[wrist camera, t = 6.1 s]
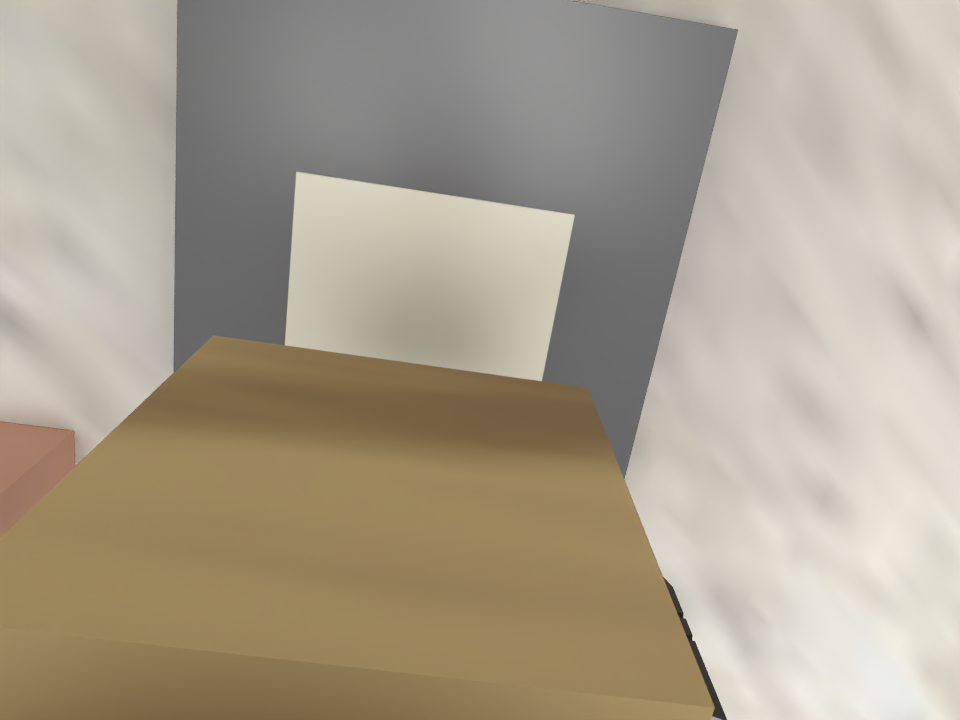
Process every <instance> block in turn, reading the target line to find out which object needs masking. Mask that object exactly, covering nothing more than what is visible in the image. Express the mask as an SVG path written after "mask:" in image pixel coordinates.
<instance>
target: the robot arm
mask: <svg viewBox="0 0 960 720" xmlns="http://www.w3.org/2000/svg"><path fill="white" fill-rule="evenodd" d="M663 578H664V577H663ZM664 581H665V584H666V586H667V589H668V591H669V594H670V596H671V599H672V601H673V604H674V606H675V609H676V611H677V614H678V616H679V619H680V621H681V624H682V626H683V629H684V631H685V634H686V636H687V639H688V641H689V644H690V646H691V649H692V651H693V654H694V657H695V659H696V662H697V664H698V667H699V669H700V672H701V674H702V677H703V679H704V682H705V684H706V687H707V689H708V692H709V694H710V697H711V699H712V702H713V704H714V707H715V709H714V712H713V715H712V717H711V720H727V719H726V716H725V714H724V711H723V709H722V706H721V704H720V702H719V699H718V697H717V694H716V692H715V689H714V687H713V684H712V682H711V680H710V677H709V675H708V672H707V670H706V667H705V665H704V662H703V660H702V657H701V655H700V653H699V650H698V648H697V645H696V643H695V641H692V633H691V631H690V628H689V626H688V623H687V621H686V619H684V618H683V611H682V609H681V606H680V604H679V601H678V599H677V596H676V594H675V591H674V589H673V587H672V586H671V585H670V584H669V583H668V582H667V581H666V579H665V578H664Z"/></svg>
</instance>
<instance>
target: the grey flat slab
mask: <svg viewBox="0 0 960 720" xmlns="http://www.w3.org/2000/svg"><path fill="white" fill-rule="evenodd" d="M737 32H738V30H737V29H731V28H725V27H720V26H714V25H708V24H702V23H697V22H691V21H685V20H680V19H674V18H668V17H662V16H657V15H651V14H645V13H640V12H634V11H628V10H622V9H617V8H611V7H605V6H600V5H594V4H588V3H582V2H577V1H571V0H178V11H177V106H176V201H175V297H174V372H175V371H176V370H177V369H178V368H179V367H181V366H182V365H183V364H184V363H185V362H186V361H187V360H188V359H189V358H190V357H191V356H192V355H193V354H194V353H195V352H196V351H197V350H198V349H199V348H201V347H202V346H203V345H204V344H205V343H206V342H207V341H208V340H209V339H210V338H211V337H212V336H213V335H215V336H222V337H229V338H236V339H243V340H250V341H257V342H265V343H272V344H279V345H286V346H293V347H300V348H308V349H315V350H322V351H329V352H336V353H343V354H350V355H358V356H365V357H372V358H379V359H386V360H393V361H401V362H408V363H415V364H422V365H429V366H436V367H443V368H451V369H458V370H465V371H472V372H479V373H486V374H494V375H501V376H508V377H515V378H522V379H529V380H536V381H544V382H551V383H558V384H565V385H572V386H579V387H587V388H588V390H589V392H590V395H591V397H592V400H593V402H594V405H595V407H596V410H597V412H598V415H599V417H600V420H601V422H602V425H603V427H604V430H605V433H606V435H607V438H608V440H609V443H610V445H611V448H612V450H613V453H614V455H615V458H616V460H617V463H618V465H619V468H620V470H621V473H622V475H623V478H625V474H626V470H627V466H628V462H629V459H630V455H631V451H632V447H633V443H634V439H635V435H636V431H637V427H638V423H639V419H640V415H641V411H642V407H643V403H644V399H645V395H646V391H647V387H648V384H649V380H650V376H651V372H652V368H653V364H654V360H655V356H656V352H657V348H658V344H659V340H660V336H661V332H662V328H663V324H664V320H665V316H666V312H667V308H668V305H669V301H670V297H671V293H672V289H673V285H674V281H675V277H676V273H677V269H678V265H679V261H680V257H681V253H682V249H683V245H684V241H685V237H686V233H687V230H688V226H689V222H690V218H691V214H692V210H693V206H694V202H695V198H696V194H697V190H698V186H699V182H700V178H701V174H702V170H703V166H704V162H705V158H706V154H707V151H708V147H709V143H710V139H711V135H712V131H713V127H714V123H715V119H716V115H717V111H718V107H719V103H720V99H721V95H722V91H723V87H724V83H725V79H726V75H727V72H728V68H729V64H730V60H731V56H732V52H733V48H734V44H735V40H736V36H737Z"/></svg>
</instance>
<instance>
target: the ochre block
mask: <svg viewBox="0 0 960 720" xmlns="http://www.w3.org/2000/svg"><path fill="white" fill-rule="evenodd" d="M714 709H715V707H714V704H713V702H712V699H711V697H710V694H709V692H708V689H707V687H706V684H705V682H704V679H703V677H702V674H701V672H700V669H699V667H698V664H697V662H696V659H695V657H694V654H693V651H692V649H691V646H690V644H689V641H688V639H687V636H686V634H685V631H684V629H683V626H682V624H681V621H680V619H679V616H678V614H677V611H676V609H675V606H674V604H673V601H672V599H671V596H670V594H669V591H668V589H667V586H666V584H665V581H664V578H663V576H662V573H661V571H660V568H659V566H658V563H657V561H656V558H655V556H654V553H653V551H652V548H651V546H650V543H649V541H648V538H647V536H646V533H645V531H644V528H643V526H642V523H641V521H640V518H639V516H638V513H637V511H636V508H635V506H634V503H633V500H632V498H631V495H630V493H629V490H628V488H627V485H626V483H625V480H624V478H623V475H622V473H621V470H620V468H619V465H618V463H617V460H616V458H615V455H614V453H613V450H612V448H611V445H610V443H609V440H608V438H607V435H606V433H605V430H604V427H603V425H602V422H601V420H600V417H599V415H598V412H597V410H596V407H595V405H594V402H593V400H592V397H591V395H590V392H589V390H588V388H587V387H579V386H572V385H565V384H558V383H551V382H544V381H536V380H529V379H522V378H515V377H508V376H501V375H494V374H486V373H479V372H472V371H465V370H458V369H451V368H443V367H436V366H429V365H422V364H415V363H408V362H401V361H393V360H386V359H379V358H372V357H365V356H358V355H350V354H343V353H336V352H329V351H322V350H315V349H308V348H300V347H293V346H286V345H279V344H272V343H265V342H257V341H250V340H243V339H236V338H229V337H222V336H215V335H213V336H212V337H211V338H210V339H209V340H208V341H207V342H206V343H205V344H204V345H203V346H202V347H201V348H199V349H198V350H197V351H196V352H195V353H194V354H193V355H192V356H191V357H190V358H189V359H188V360H187V361H186V362H185V363H184V364H183V365H182V366H181V367H179V368H178V369H177V370H176V371H175V372H174V373H173V374H172V375H171V376H170V377H169V378H168V379H167V380H166V381H165V382H164V383H163V384H162V385H161V386H159V387H158V388H157V389H156V390H155V391H154V392H153V393H152V394H151V395H150V396H149V397H148V398H147V399H146V400H145V401H144V402H143V403H142V404H141V405H139V406H138V407H137V408H136V409H135V410H134V411H133V412H132V413H131V414H130V415H129V416H128V417H127V418H126V419H125V420H124V421H123V422H122V423H121V424H120V425H118V426H117V427H116V428H115V429H114V430H113V431H112V432H111V433H110V434H109V435H108V436H107V437H106V438H105V439H104V440H103V441H102V442H101V443H100V444H98V445H97V446H96V447H95V448H94V449H93V450H92V451H91V452H90V453H89V454H88V455H87V456H86V457H85V458H84V459H83V460H82V461H81V462H80V463H78V464H77V465H76V466H75V467H74V468H73V469H72V470H71V471H70V472H69V473H68V474H67V475H66V476H65V477H64V478H63V479H62V480H61V481H60V482H59V483H57V484H56V485H55V486H54V487H53V488H52V489H51V490H50V491H49V492H48V493H47V494H46V495H45V496H44V497H43V498H42V499H41V500H40V501H39V502H37V503H36V504H35V505H34V506H33V507H32V508H31V509H30V510H29V511H28V512H27V513H26V514H25V515H24V516H23V517H22V518H21V519H20V520H19V521H17V522H16V523H15V524H14V525H13V526H12V527H11V528H10V529H9V530H8V531H7V532H6V533H5V534H4V535H3V536H2V537H1V538H0V720H711V717H712V715H713V712H714Z"/></svg>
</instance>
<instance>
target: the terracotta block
mask: <svg viewBox="0 0 960 720" xmlns="http://www.w3.org/2000/svg"><path fill="white" fill-rule="evenodd" d="M74 467H75V443H74V431H70V430H63V429H55V428H47V427H39V426H32V425H24V424H16V423H9V422H1V421H0V538H1V537H2V536H3V535H4V534H5V533H6V532H7V531H8V530H9V529H10V528H11V527H12V526H13V525H14V524H15V523H16V522H17V521H19V520H20V519H21V518H22V517H23V516H24V515H25V514H26V513H27V512H28V511H29V510H30V509H31V508H32V507H33V506H34V505H35V504H36V503H37V502H39V501H40V500H41V499H42V498H43V497H44V496H45V495H46V494H47V493H48V492H49V491H50V490H51V489H52V488H53V487H54V486H55V485H56V484H57V483H59V482H60V481H61V480H62V479H63V478H64V477H65V476H66V475H67V474H68V473H69V472H70V471H71V470H72V469H73V468H74Z"/></svg>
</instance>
